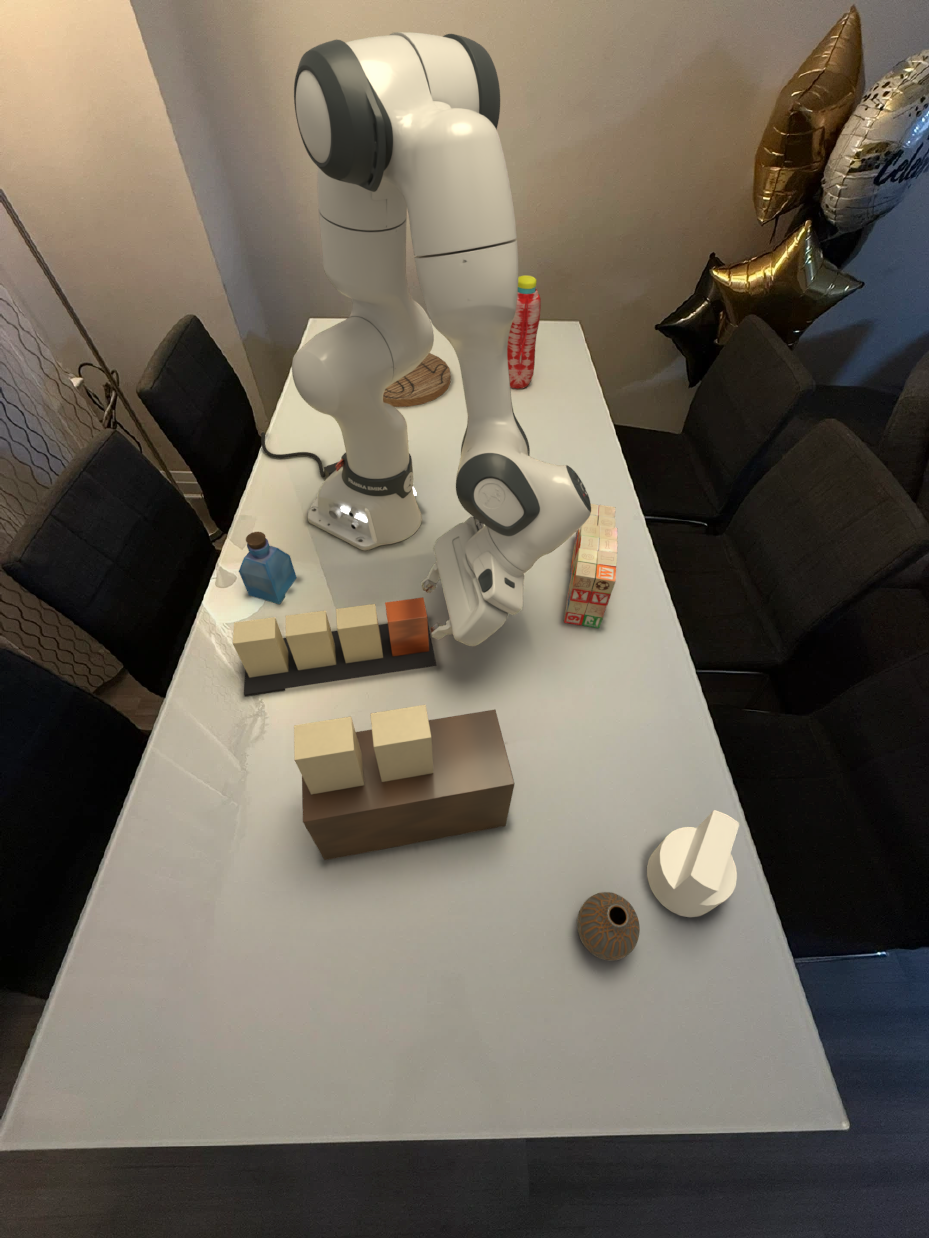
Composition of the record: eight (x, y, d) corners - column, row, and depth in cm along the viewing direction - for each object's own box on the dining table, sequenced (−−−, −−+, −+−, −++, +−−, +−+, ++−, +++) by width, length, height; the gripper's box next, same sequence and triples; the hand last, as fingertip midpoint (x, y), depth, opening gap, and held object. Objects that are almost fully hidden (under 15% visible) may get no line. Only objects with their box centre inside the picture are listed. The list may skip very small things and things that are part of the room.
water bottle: (501, 368, 153) (508, 263, 134) (531, 369, 153) (543, 265, 134) (500, 392, 146) (508, 285, 126) (532, 393, 145) (545, 287, 126)
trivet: (408, 346, 160) (408, 339, 158) (470, 382, 148) (470, 375, 147) (333, 377, 149) (331, 370, 147) (393, 418, 137) (392, 411, 136)
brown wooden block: (324, 860, 74) (284, 789, 57) (321, 787, 81) (284, 702, 63) (505, 825, 78) (522, 748, 60) (489, 757, 84) (500, 669, 66)
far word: (244, 696, 89) (225, 661, 82) (247, 645, 96) (229, 607, 88) (436, 667, 93) (435, 631, 86) (427, 620, 100) (425, 582, 92)
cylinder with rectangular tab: (706, 932, 70) (745, 909, 61) (636, 890, 73) (663, 861, 64) (727, 866, 75) (767, 835, 66) (661, 829, 78) (689, 794, 68)
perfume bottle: (297, 579, 105) (282, 530, 95) (279, 604, 101) (262, 555, 92) (267, 571, 106) (249, 521, 97) (248, 595, 102) (228, 546, 93)
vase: (568, 903, 72) (580, 884, 65) (622, 898, 72) (640, 879, 65) (579, 967, 68) (594, 954, 61) (637, 961, 68) (658, 948, 61)
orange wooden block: (392, 656, 94) (387, 622, 87) (389, 637, 96) (384, 602, 89) (429, 651, 95) (427, 616, 88) (425, 632, 97) (423, 597, 90)
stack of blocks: (573, 539, 113) (585, 488, 103) (606, 544, 112) (620, 493, 102) (563, 623, 100) (575, 574, 90) (600, 629, 99) (616, 580, 89)
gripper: (465, 501, 88) (405, 555, 94) (495, 602, 75) (424, 657, 82) (492, 520, 92) (433, 570, 98) (525, 619, 79) (455, 669, 86)
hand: (429, 610), depth 90 cm, fingers open, 8 cm apart
